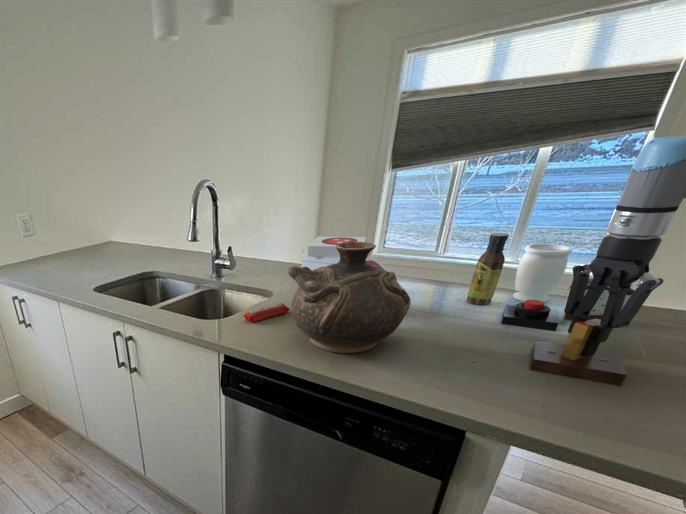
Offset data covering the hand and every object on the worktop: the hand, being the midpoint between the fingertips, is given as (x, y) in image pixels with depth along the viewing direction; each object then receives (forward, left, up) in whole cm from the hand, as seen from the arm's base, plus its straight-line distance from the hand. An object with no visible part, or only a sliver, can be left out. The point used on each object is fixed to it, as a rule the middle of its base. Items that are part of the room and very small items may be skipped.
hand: (579, 351), depth 85 cm
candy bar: (+71, +1, -4) cm, 71 cm away
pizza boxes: (+55, -24, -4) cm, 60 cm away
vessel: (+46, +8, -4) cm, 47 cm away
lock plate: (0, 0, -4) cm, 4 cm away
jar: (+8, -45, -4) cm, 46 cm away
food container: (-4, -32, -4) cm, 32 cm away
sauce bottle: (+20, -36, -4) cm, 41 cm away
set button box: (+8, -25, -4) cm, 26 cm away
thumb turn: (0, 0, -1) cm, 1 cm away
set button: (+8, -25, 0) cm, 26 cm away
